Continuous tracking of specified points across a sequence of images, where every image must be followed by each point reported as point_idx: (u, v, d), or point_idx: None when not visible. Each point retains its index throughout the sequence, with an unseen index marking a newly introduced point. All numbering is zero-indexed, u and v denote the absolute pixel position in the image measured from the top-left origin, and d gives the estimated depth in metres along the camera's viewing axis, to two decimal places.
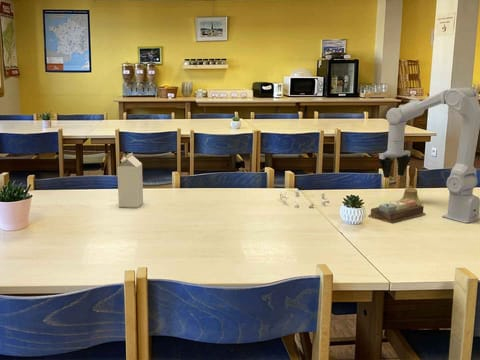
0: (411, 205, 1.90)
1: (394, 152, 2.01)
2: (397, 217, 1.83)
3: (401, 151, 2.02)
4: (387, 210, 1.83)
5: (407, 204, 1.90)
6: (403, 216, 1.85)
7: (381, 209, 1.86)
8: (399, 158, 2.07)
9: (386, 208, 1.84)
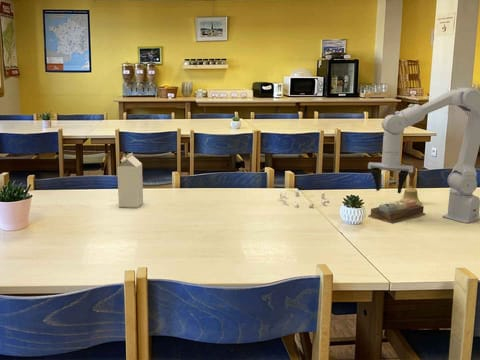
0: (411, 205, 1.90)
1: (382, 163, 1.82)
2: (397, 217, 1.83)
3: (389, 164, 1.80)
4: (387, 210, 1.83)
5: (407, 204, 1.90)
6: (403, 216, 1.85)
7: (381, 209, 1.86)
8: None
9: (386, 208, 1.84)
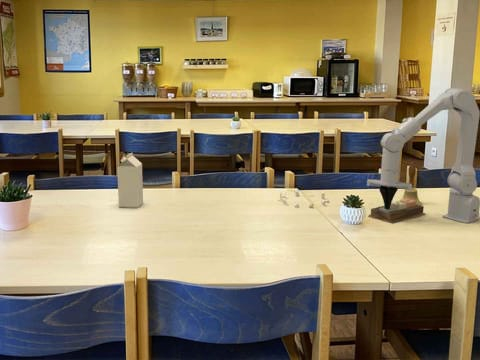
0: (411, 205, 1.90)
1: (381, 181, 1.83)
2: (397, 217, 1.83)
3: (387, 181, 1.81)
4: None
5: (407, 204, 1.90)
6: (403, 216, 1.85)
7: None
8: None
9: (386, 211, 1.84)
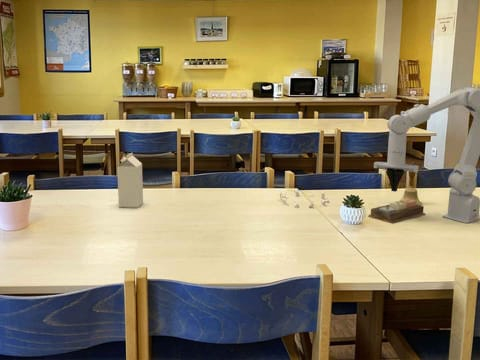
0: (411, 205, 1.90)
1: (387, 163, 1.84)
2: (397, 217, 1.83)
3: (394, 163, 1.82)
4: None
5: (407, 204, 1.90)
6: (403, 216, 1.85)
7: None
8: None
9: (386, 211, 1.84)
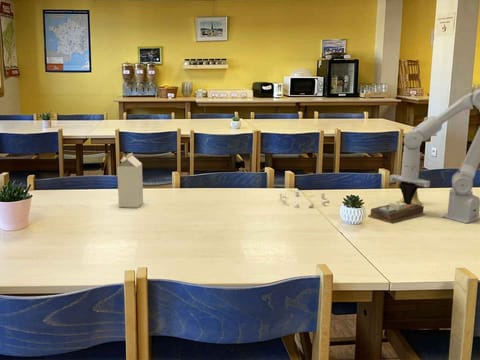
0: None
1: (401, 176, 1.91)
2: (397, 217, 1.83)
3: (405, 177, 1.88)
4: None
5: (407, 207, 1.90)
6: (403, 216, 1.85)
7: None
8: None
9: (386, 211, 1.84)
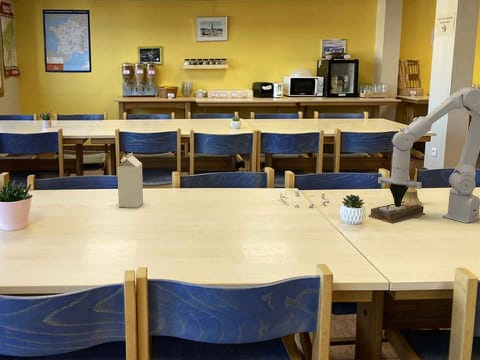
0: None
1: (391, 179, 1.87)
2: (397, 217, 1.83)
3: (397, 179, 1.85)
4: None
5: (407, 207, 1.90)
6: (403, 216, 1.85)
7: None
8: None
9: (386, 211, 1.84)
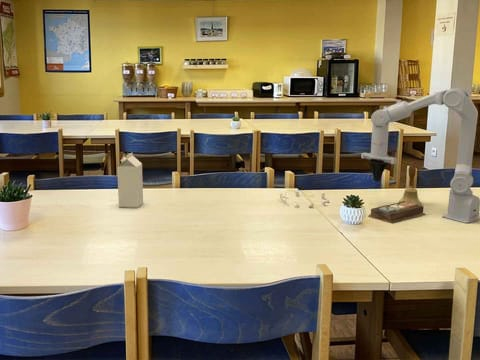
0: None
1: (370, 154, 1.98)
2: (397, 217, 1.83)
3: (374, 154, 1.95)
4: None
5: (407, 207, 1.90)
6: (403, 216, 1.85)
7: None
8: None
9: (386, 211, 1.84)
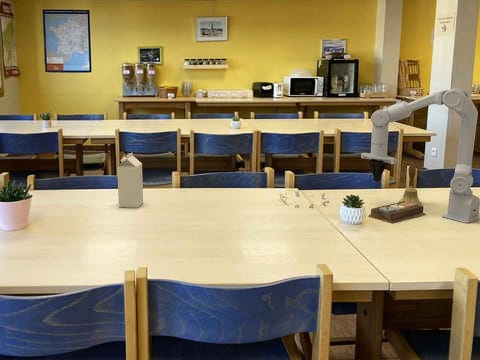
0: None
1: (370, 154, 1.98)
2: (397, 217, 1.83)
3: (373, 154, 1.95)
4: None
5: (407, 207, 1.90)
6: (403, 216, 1.85)
7: None
8: None
9: (386, 211, 1.84)
